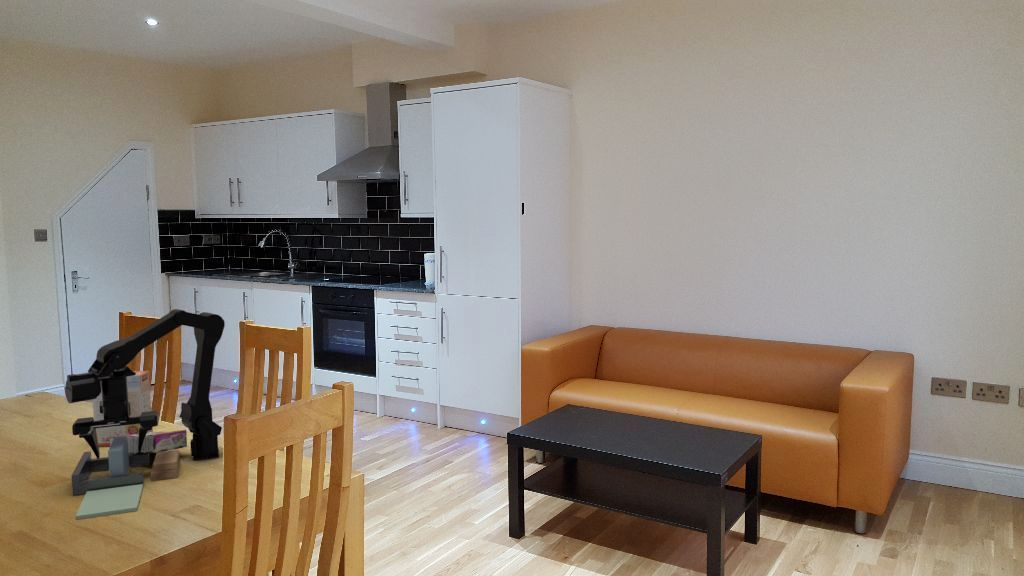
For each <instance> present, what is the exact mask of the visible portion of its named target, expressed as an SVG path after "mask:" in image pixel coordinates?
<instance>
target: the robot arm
mask: <svg viewBox="0 0 1024 576" xmlns="http://www.w3.org/2000/svg"><path fill="white" fill-rule="evenodd" d="M223 318H224V317H222V316H221V315H219V314H215V313H212V312H206V311H204V312H201V313H193V312H188V311H186V310H184V309H183V310H182V309H178V308H174V309H172V310H170V311H169V312H168V313H167V314H165V315H163V316H162V317H161V318H160V317H159V319H157V320H155V321H154V322H151V323H150V324H149V325H147V326H145V327H143V328H142V329H140V330H139V331H137V332H135V333H133V334H132V335H130V336H128V337H125V338H121V339H118V340H114V341H112V342H110V343H107V344H104V345H102V346H101V347H99V349H98V350H97V352H96V359H95V360H94V361H93V363H92V365H91V366H89V369H88V370H87V372H84V373H79V374H76V373H75V374H73V373H72V374H67V375H66V381H65V387H64V394H65V398H66V401H67V403H68V404H74V403H80V402H86V401H93V399H96V398H97V396H100V393H101V390H102V401H100V413H101V414H103V418H104V420H98V421H94V416H90V417H88V416H87V417H80V418H77V419H76V420H75V421H74V422H73V424H72V425H71V426H72V427H71V430H72V431H71V432H72V435H73V436H78V437H79V439H84V440H85V442H86V443H87V444H88V446H89V447H90V448H91V450H92V451H93V453H94V455H95V458H97V459H99V458H101V455H100V454H101V453H100V448H99V447H100V446H98V442H97V437H96V428H104V427H113V426H123V425H132V424H140V425H141V426H140V429H139V440H138V453H139V454H140V453H141V449H142V445H143V442H144V438H145V436H146V434H147V431H149V430H152V429H154V427H158V426H159V422H160V413H159V412H158V411H157V410H151V411H148V412H141V415H140V416H137V417H129V416H130V415H131V407H130V402H128V388H127V377H128V376H134V375H136V373H135V372H133V371H134V370H132V369H131V368H130V367H129V366H128V365H129V364H130V363H131V362H132V361H134V360H135V358H136V357H137V356H138V354H139V353H140V352H141V351H142V350H144V349H145V348H147V347H149V346H150V345H153V344H154V343H156V342H157V341H159V340H160V339H161V338H163V337H165V336H166V335H168V334H170V333H172V332H173V331H175V330H176V329H178V328H179V327H182V326H186V327H191V328H193V334H194V338H195V341H196V342H195V343H196V353H195V361H194V367H193V375H192V382H191V390H190V391H191V392H190V397H189V399H187V402H181V404H180V407H181V409H180V413H179V415H178V417H179V418H180V419H181V424H182V425H183V426H184V427H185V428H188V430H189V432H190V433H191V434H192V438H191V439H190V442H189V443H190V457H192V460H193V461H199V460H206V459H214V458H219V457H220V449H219V438H218V437H219V436H221V433H222V430H223V427H222V426H221V425H219V424H217V423H216V422H215V421H213V407H212V405H211V400H210V392H211V387H212V386H211V383H212V378H213V377H212V376H213V369H214V363H215V353H216V347H217V345H218V343H219V342H220V340H221V339H222V336H223V332H224V330H225V323H226V322H225V319H223ZM100 381H101V384H100ZM121 421H122V422H121ZM123 421H126V422H123ZM112 422H113V423H112ZM108 423H109V424H108Z"/></svg>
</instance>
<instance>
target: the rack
mask: <svg viewBox="0 0 1024 576" xmlns="http://www.w3.org/2000/svg"><path fill="white" fill-rule="evenodd" d="M150 462H151V461H150V453H140V454H139V453H138V454H129V468H135V467H142V466H149V465H150ZM102 471H109V459H108V456H105V457H100V458H99V459H97V457H95V458H92V452H91V451H83V453H82V455H81V457H80V459H79V461H78V463H77V464H76V466H75V468H74V470H73V472H72V474H71V475H70V476H71V487H72V488H71V489H72V496H73V497H75V496H80V495H85V494H86V492H87V491H94V490H102V489H109V488H117V487H124V486H132V485H139V484H143V487H144V486H145V478H144V477H145V476H144V472H142V471H141V472H136V473H135V472H134V473H128V474H126V475H118V476H110V475H109V476H104V477H96V478H90V476H91V473H94V472H102Z"/></svg>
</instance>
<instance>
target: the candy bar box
mask: <svg viewBox="0 0 1024 576" xmlns="http://www.w3.org/2000/svg"><path fill="white" fill-rule="evenodd" d="M187 433H188V432H187V430H186V429H183V430H179V429H177V430H169V431H168V430H166V431H163V430H162V431H153V432H148V433H147V434H146V436H145V438H144V442H143V445H142V449H141V453H149V454H152V453H153V454H155V453H157V452H164V451H172V450H179V449H183V448H187V447H188V441H187V439H188V437H187ZM124 436H127V438H128V453H129V454H138V440H139V433H137V434H131V435H124ZM118 437H121V436H118ZM113 439H114V437H112V438H110V441H109V442H110V446H111V444H112V441H113ZM110 446H109V447H110Z"/></svg>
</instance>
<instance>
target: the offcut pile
mask: <svg viewBox="0 0 1024 576" xmlns="http://www.w3.org/2000/svg"><path fill="white" fill-rule="evenodd" d="M180 456H181V455H180V454H179V449H173V450H168V451H162V452H156V454H155V457H154V459H153V463H152V468H151V472H150V480H151V482H156V480H157V481H164V480H165V481H166V480H171V479H178V478H179V472H180V470H179V469H180V464H181V463H180V462H181V460H180V459H181V457H180Z"/></svg>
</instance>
